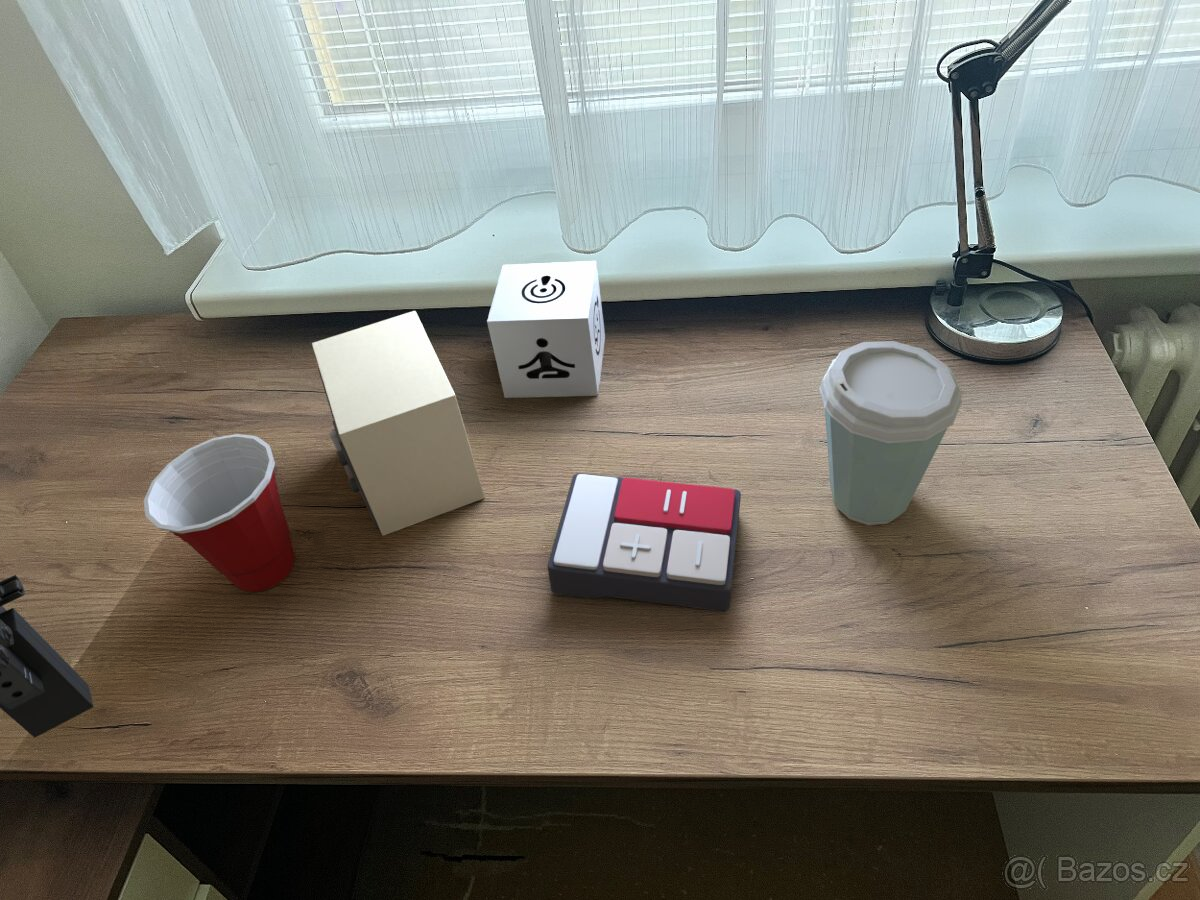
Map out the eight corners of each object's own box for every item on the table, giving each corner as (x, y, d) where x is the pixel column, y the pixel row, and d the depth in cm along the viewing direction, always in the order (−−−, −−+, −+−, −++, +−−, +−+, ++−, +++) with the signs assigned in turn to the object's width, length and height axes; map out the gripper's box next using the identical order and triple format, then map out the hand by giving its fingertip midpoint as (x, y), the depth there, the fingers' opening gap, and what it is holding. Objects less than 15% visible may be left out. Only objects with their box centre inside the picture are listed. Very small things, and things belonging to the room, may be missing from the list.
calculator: (731, 586, 68) (545, 563, 71) (728, 617, 71) (549, 594, 74) (742, 483, 76) (573, 465, 78) (738, 515, 79) (576, 497, 81)
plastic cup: (232, 519, 84) (177, 429, 76) (337, 523, 82) (293, 431, 74) (180, 613, 77) (112, 525, 68) (295, 620, 75) (240, 529, 66)
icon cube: (518, 339, 100) (502, 264, 93) (605, 336, 99) (596, 260, 92) (504, 397, 93) (486, 321, 86) (598, 395, 92) (587, 318, 85)
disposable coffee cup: (894, 446, 82) (919, 316, 72) (959, 528, 75) (997, 397, 64) (789, 476, 81) (799, 349, 70) (845, 564, 73) (865, 435, 63)
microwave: (372, 540, 80) (327, 438, 71) (343, 446, 90) (300, 346, 81) (485, 498, 83) (455, 395, 74) (445, 411, 92) (415, 310, 83)
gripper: (-236, 363, 23) (170, 773, 39) (-210, 182, 31) (116, 584, 47) (-610, 496, 20) (-8, 874, 37) (-474, 261, 28) (-33, 655, 45)
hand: (62, 710), depth 42 cm, fingers closed
